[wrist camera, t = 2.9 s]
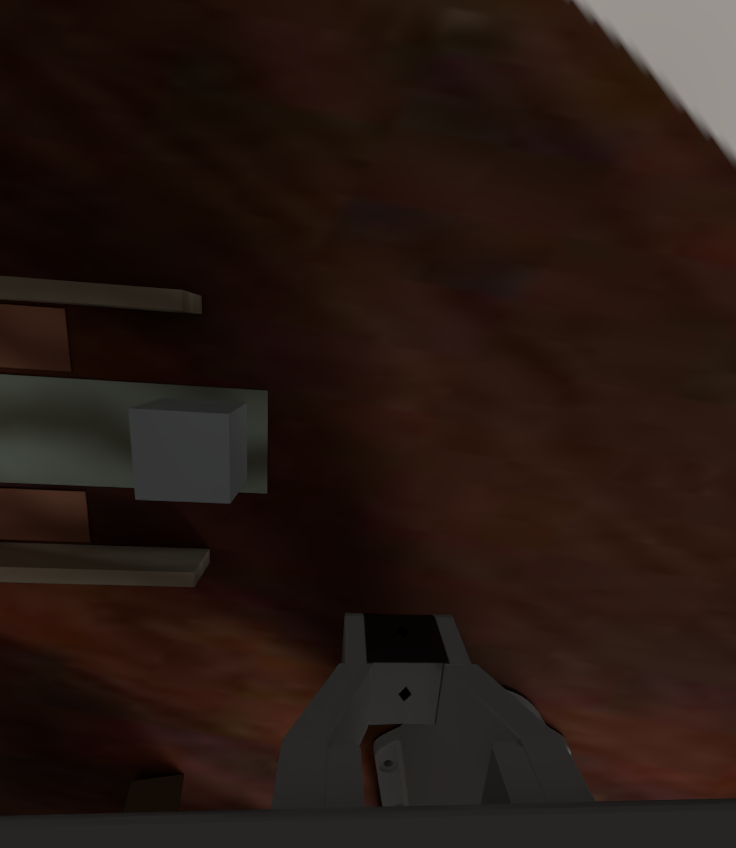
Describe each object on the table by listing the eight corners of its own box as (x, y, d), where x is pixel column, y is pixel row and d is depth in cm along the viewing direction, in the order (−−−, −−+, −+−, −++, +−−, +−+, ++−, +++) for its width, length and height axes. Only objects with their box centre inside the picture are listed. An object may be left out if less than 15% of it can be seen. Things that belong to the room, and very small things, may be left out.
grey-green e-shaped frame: (266, 564, 29) (257, 588, 26) (-43, 554, 28) (-89, 579, 25) (268, 301, 25) (257, 295, 22) (-101, 272, 23) (-165, 262, 20)
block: (247, 480, 28) (230, 503, 24) (166, 476, 27) (135, 499, 23) (246, 403, 26) (228, 413, 22) (161, 398, 26) (128, 408, 22)
